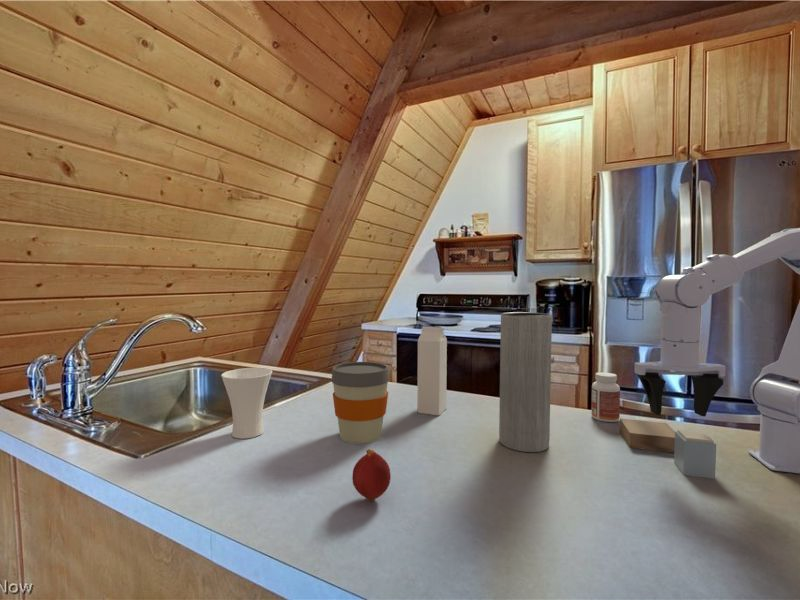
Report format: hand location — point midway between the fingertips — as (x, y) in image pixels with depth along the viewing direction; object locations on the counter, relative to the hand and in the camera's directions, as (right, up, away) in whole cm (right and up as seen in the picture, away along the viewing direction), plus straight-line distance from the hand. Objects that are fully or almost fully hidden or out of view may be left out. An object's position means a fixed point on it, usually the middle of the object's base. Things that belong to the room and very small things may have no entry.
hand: (677, 413), depth 72 cm
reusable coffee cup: (-60, -9, +14) cm, 62 cm away
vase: (-25, -9, +10) cm, 29 cm away
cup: (-85, -9, +15) cm, 86 cm away
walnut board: (+1, -9, +11) cm, 14 cm away
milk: (-43, -8, +30) cm, 53 cm away
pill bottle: (0, -9, +25) cm, 26 cm away
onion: (-55, -10, -12) cm, 58 cm away
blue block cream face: (+1, -10, -2) cm, 10 cm away
